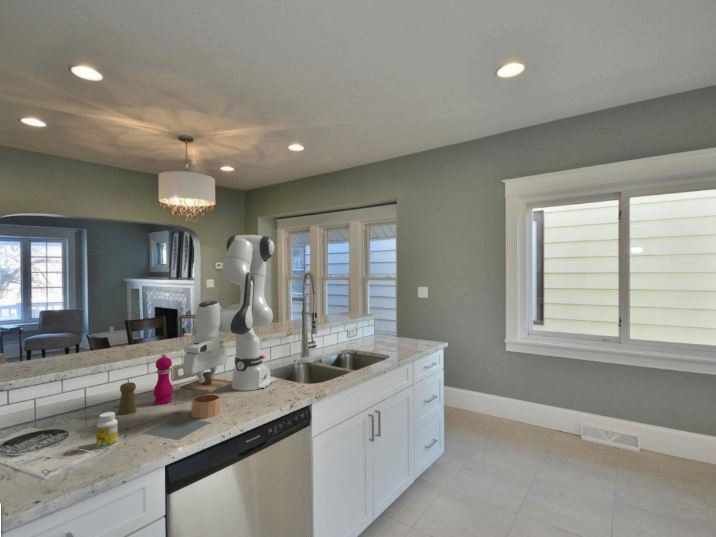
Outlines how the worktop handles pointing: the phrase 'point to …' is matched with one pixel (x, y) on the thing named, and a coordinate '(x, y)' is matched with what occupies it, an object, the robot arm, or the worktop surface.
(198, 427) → the mat
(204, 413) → the bowl
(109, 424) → the supplement bottle
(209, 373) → the lid
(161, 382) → the pepper mill
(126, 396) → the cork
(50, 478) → the worktop surface
